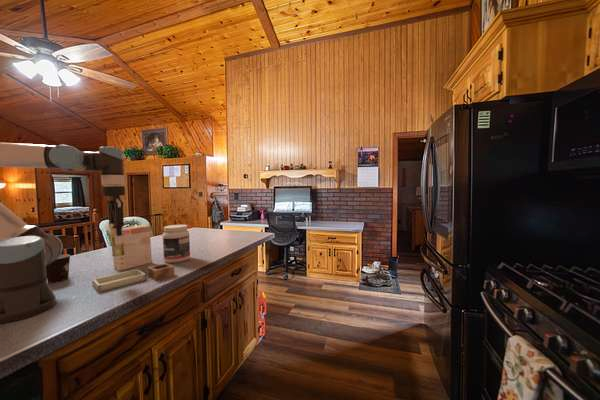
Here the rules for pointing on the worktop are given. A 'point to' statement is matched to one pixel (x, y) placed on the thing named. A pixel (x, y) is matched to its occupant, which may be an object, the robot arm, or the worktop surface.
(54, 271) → the coffee mug
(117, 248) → the pin
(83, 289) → the worktop surface
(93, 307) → the worktop surface
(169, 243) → the supplement tub
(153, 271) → the socket block
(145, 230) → the coffeecake box
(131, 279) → the tray
